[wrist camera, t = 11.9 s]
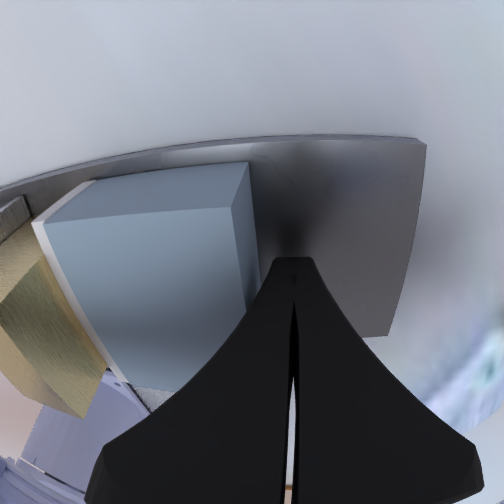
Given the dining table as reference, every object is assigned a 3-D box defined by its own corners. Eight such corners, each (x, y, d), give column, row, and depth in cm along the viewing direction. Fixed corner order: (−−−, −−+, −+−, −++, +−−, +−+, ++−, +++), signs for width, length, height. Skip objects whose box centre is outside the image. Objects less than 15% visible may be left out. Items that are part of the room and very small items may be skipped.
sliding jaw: (266, 335, 12) (260, 399, 9) (142, 329, 13) (118, 383, 10) (247, 159, 8) (230, 204, 5) (84, 181, 9) (28, 224, 6)
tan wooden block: (134, 311, 12) (83, 419, 8) (76, 306, 13) (23, 395, 8) (94, 206, 9) (-8, 312, 5) (34, 215, 10) (-52, 300, 5)
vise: (383, 322, 12) (402, 394, 9) (51, 311, 15) (21, 358, 11) (416, 138, 8) (481, 182, 5) (-5, 189, 10) (-57, 228, 7)
